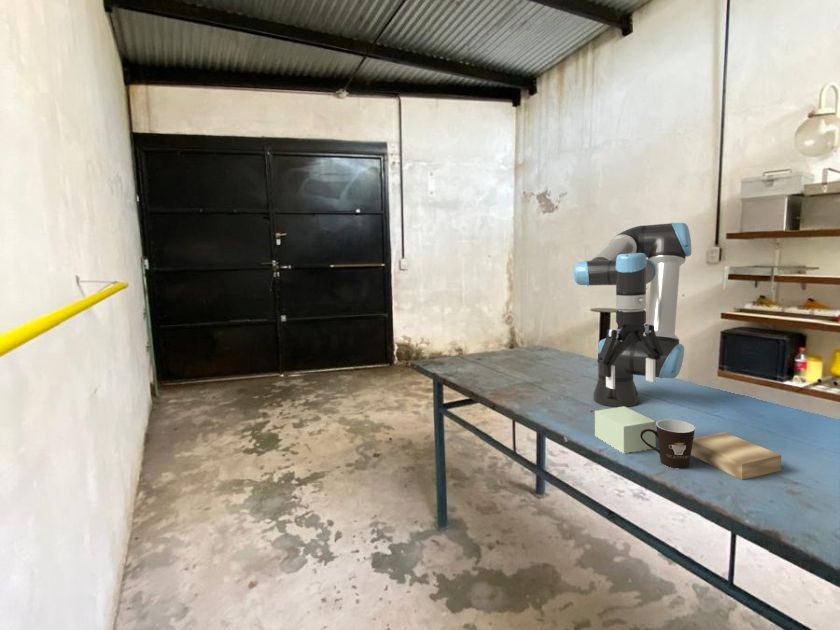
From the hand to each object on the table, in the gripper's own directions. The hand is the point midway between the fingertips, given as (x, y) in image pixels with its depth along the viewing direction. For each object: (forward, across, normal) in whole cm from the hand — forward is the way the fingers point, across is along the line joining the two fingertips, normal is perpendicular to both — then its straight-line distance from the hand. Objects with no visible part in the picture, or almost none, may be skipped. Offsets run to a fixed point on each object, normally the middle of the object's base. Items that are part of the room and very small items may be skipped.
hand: (630, 384), depth 126 cm
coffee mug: (+17, 0, -13) cm, 22 cm away
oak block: (+17, +14, -19) cm, 29 cm away
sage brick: (+17, -1, +1) cm, 17 cm away
